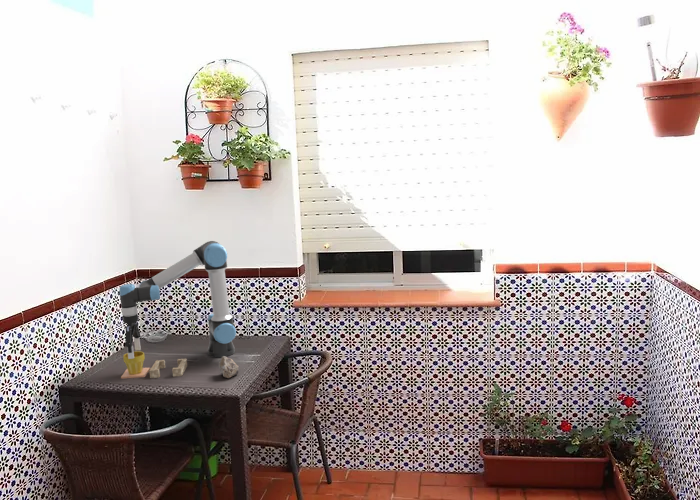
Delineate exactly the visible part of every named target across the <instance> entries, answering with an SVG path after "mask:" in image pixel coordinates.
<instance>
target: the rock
mask: <svg viewBox="0 0 700 500" xmlns="http://www.w3.org/2000/svg"><path fill="white" fill-rule="evenodd" d="M218 368H219V373H220V374H221V375H222V376H223V377H224V378H227V379H230V378H232V377H233V376H237V375H238V374H239V370H240V369H239V365H237V363H236V362H235V361H234V360H233V359H232V358H231V357H228V356H223V357H220V359H219V362H218Z"/></svg>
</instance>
